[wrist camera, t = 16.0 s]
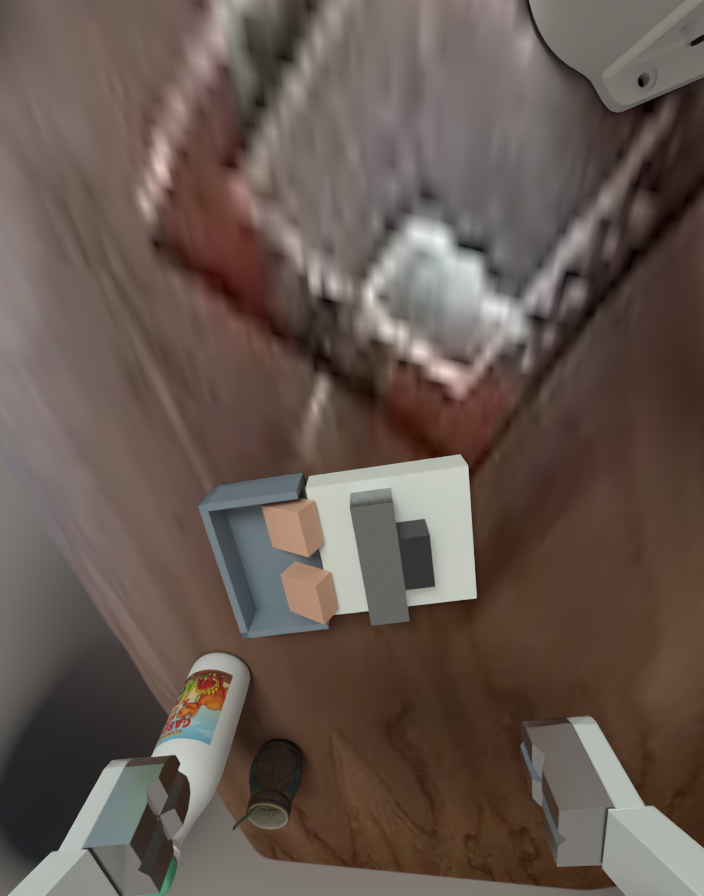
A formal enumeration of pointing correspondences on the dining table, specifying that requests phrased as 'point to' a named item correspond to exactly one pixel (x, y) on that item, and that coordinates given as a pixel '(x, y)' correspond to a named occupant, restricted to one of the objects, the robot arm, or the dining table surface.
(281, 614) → the tray
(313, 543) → the tile front
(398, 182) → the dining table surface
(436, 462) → the board
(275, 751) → the mate gourd
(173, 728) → the milk bottle
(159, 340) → the dining table surface
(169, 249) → the dining table surface
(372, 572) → the two-tone stepped block
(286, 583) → the tile back
